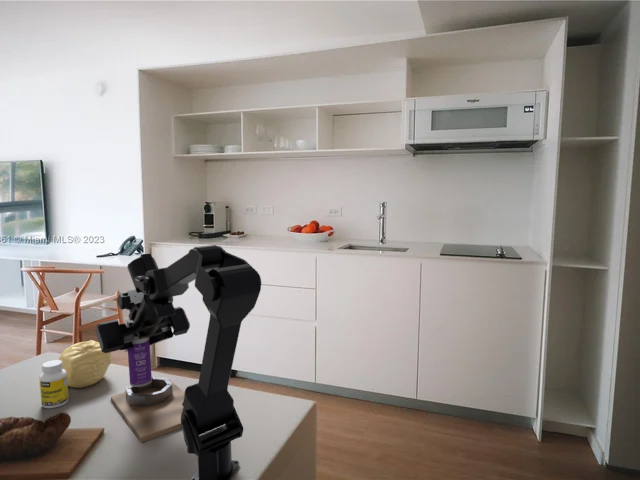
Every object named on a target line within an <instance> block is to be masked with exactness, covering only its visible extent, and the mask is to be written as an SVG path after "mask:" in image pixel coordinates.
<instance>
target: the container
mask: <svg viewBox="0 0 640 480" xmlns="http://www.w3.org/2000/svg"><path fill="white" fill-rule="evenodd" d="M129 323H133V321H130V319H129V318H127V320H126V326H127V328H128V327H129ZM132 344H133V346H134V347H133V348H132V349H130V350H129V351H127V360H128V374H129V375H128V376H129V385H131V386H133V387H141V386H145V385H148V384H150V383H151V381H152V377H153V376H152V361H151V346H150V340H149V337H147V338H143V339H139V337H136V338H133V339H132Z"/></svg>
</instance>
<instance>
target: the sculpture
mask: <svg viewBox="0 0 640 480" xmlns="http://www.w3.org/2000/svg"><path fill="white" fill-rule="evenodd" d="M111 353H112V352H109V353H104V352H102V350H101V347H100V344H99V341H95V340H93V339H90V340H88V341H80V342H76V343H74V344H72V345H70V346H68V347H67V348H66V349H64V350H63V351H62V352H61V354H60V356H59V357H58V360H61V361H62V364H63V368H62V369H64V370H66V373H67V384H68V387H69V388H70V387H71V388H77V389H78V388H84V387H85V388H86V387H89V386H92V385H94V384H97V383H99V382H100V381H101V380H102V379H103V378H104V376H105V375H106V373H107V371H108V369H109V366H110V365H111V364H112V363H111V362H112V359H111V356H112V354H111Z"/></svg>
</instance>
